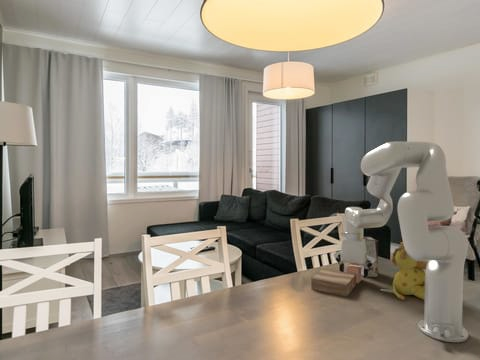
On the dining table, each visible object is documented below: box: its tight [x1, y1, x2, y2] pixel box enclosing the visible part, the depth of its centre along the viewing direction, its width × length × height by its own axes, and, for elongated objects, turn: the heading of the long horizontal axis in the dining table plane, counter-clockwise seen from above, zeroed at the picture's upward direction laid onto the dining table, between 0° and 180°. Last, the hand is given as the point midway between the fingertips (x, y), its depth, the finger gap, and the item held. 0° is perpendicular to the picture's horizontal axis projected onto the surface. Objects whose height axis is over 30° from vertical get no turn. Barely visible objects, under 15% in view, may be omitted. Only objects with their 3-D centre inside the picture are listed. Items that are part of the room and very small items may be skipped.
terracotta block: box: [345, 263, 362, 284], centre depth 139 cm, size 5×5×6 cm
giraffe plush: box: [379, 241, 428, 301], centre depth 126 cm, size 20×24×19 cm
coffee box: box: [356, 236, 379, 278], centre depth 148 cm, size 9×6×16 cm
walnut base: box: [310, 268, 357, 297], centre depth 132 cm, size 14×14×4 cm
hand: (353, 275), depth 140 cm, fingers open, 9 cm apart
